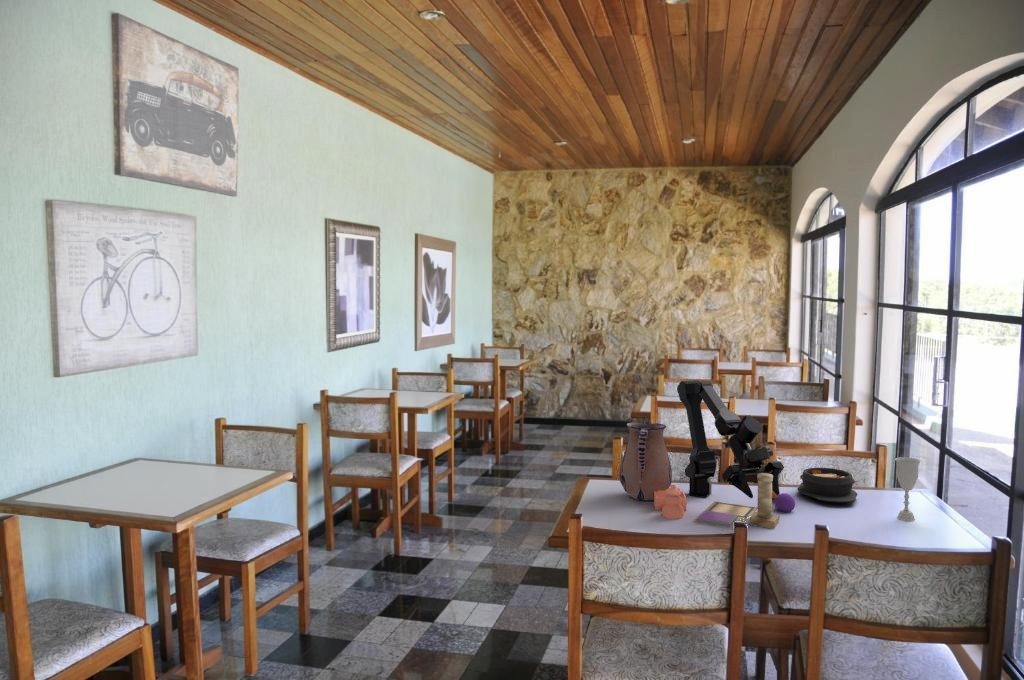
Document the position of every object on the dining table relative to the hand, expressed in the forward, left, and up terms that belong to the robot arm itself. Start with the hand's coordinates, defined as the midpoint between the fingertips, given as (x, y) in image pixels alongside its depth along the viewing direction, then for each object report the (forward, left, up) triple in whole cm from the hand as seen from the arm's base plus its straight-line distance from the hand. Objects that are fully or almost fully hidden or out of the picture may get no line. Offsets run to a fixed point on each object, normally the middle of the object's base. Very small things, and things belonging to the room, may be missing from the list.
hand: (765, 496), depth 215 cm
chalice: (+36, +27, -9) cm, 46 cm away
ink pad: (-13, -3, -8) cm, 16 cm away
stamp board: (-12, +4, -9) cm, 15 cm away
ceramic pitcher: (-41, +9, -9) cm, 42 cm away
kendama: (0, +23, -9) cm, 25 cm away
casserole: (+12, +41, -9) cm, 44 cm away
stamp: (0, 0, -9) cm, 9 cm away
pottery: (-28, -1, -9) cm, 30 cm away
